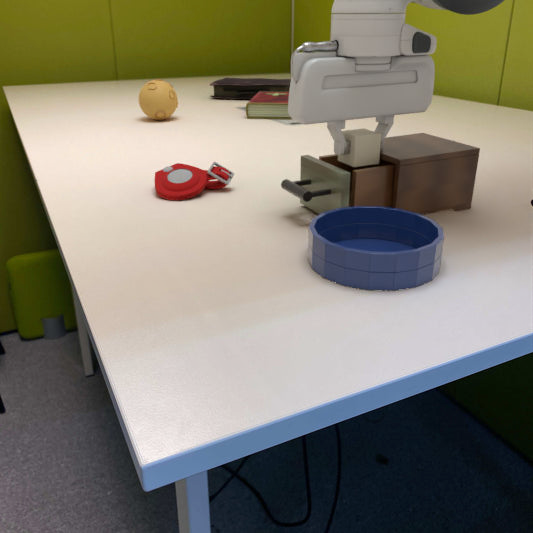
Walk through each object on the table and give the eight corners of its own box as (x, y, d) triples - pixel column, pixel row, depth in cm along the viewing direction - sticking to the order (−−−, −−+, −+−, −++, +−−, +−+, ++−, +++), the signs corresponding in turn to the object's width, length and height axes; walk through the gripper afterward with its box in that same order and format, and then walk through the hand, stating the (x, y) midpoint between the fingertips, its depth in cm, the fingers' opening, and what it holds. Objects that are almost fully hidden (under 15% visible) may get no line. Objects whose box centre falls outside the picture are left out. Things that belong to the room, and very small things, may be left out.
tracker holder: (169, 198, 80) (138, 168, 86) (175, 221, 83) (144, 191, 89) (238, 166, 84) (204, 140, 90) (241, 190, 87) (207, 163, 93)
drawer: (311, 231, 68) (312, 178, 65) (273, 207, 76) (273, 159, 74) (417, 211, 75) (423, 161, 72) (371, 190, 83) (375, 145, 80)
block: (361, 157, 76) (363, 128, 74) (379, 164, 73) (381, 133, 71) (337, 160, 74) (338, 131, 73) (354, 167, 71) (356, 136, 69)
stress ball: (137, 123, 138) (133, 81, 134) (144, 116, 147) (140, 77, 143) (177, 122, 138) (174, 81, 134) (181, 115, 147) (178, 76, 143)
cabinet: (394, 223, 73) (400, 159, 69) (345, 199, 82) (348, 141, 79) (470, 208, 78) (480, 148, 74) (416, 186, 88) (423, 132, 84)
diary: (226, 91, 189) (226, 76, 187) (298, 93, 184) (298, 77, 182) (209, 99, 173) (208, 82, 171) (287, 101, 167) (287, 84, 165)
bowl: (384, 232, 70) (387, 199, 68) (467, 277, 58) (474, 238, 56) (286, 253, 64) (286, 217, 62) (356, 307, 53) (359, 265, 51)
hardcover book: (246, 118, 143) (245, 101, 141) (257, 105, 162) (257, 90, 160) (291, 119, 141) (292, 102, 140) (298, 105, 160) (298, 90, 158)
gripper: (305, 43, 60) (302, 166, 66) (447, 38, 68) (434, 148, 74) (279, 41, 65) (278, 155, 71) (414, 36, 74) (404, 139, 79)
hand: (359, 151), depth 73 cm, fingers closed on block, 4 cm apart
